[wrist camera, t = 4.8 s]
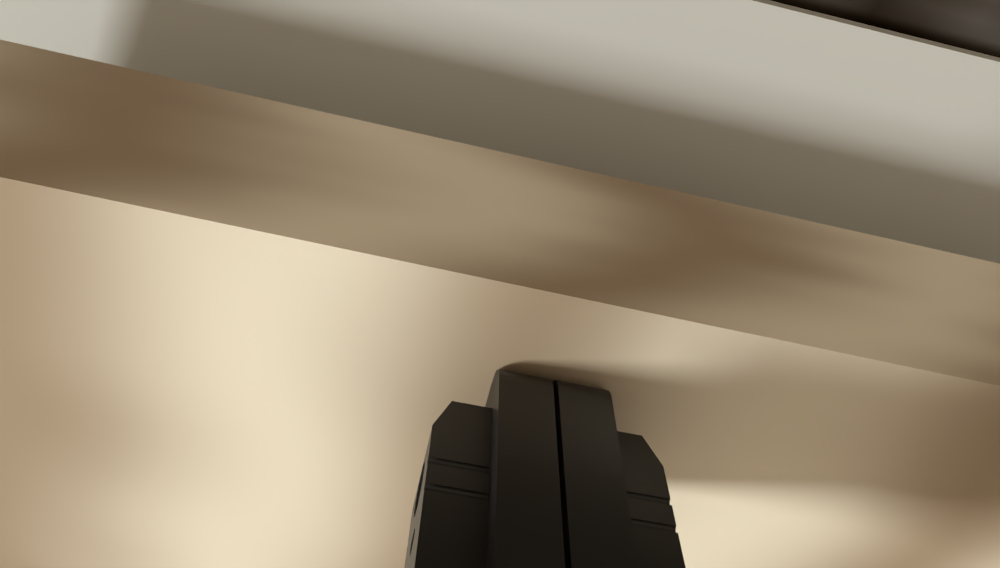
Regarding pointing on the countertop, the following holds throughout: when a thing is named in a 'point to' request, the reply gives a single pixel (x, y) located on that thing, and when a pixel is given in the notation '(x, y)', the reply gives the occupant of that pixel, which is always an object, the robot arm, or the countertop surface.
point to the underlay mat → (609, 92)
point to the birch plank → (445, 340)
